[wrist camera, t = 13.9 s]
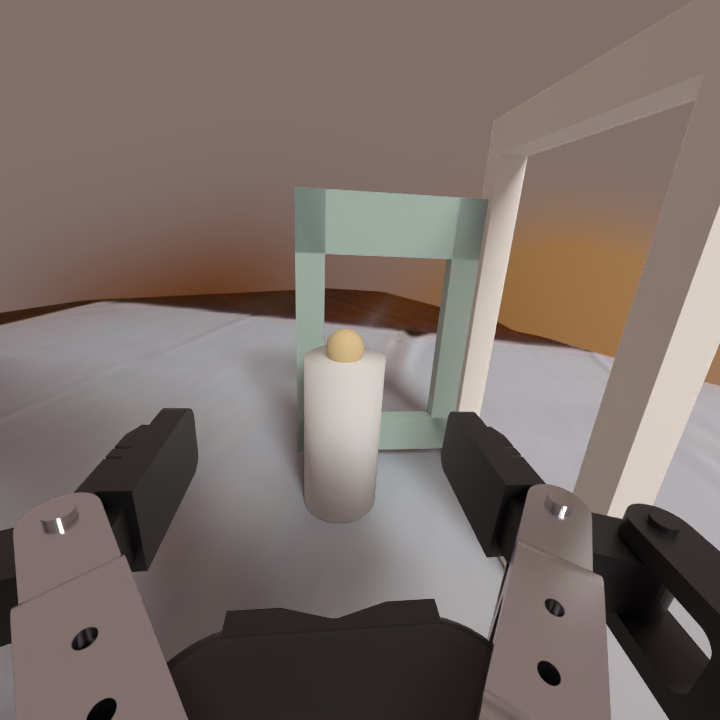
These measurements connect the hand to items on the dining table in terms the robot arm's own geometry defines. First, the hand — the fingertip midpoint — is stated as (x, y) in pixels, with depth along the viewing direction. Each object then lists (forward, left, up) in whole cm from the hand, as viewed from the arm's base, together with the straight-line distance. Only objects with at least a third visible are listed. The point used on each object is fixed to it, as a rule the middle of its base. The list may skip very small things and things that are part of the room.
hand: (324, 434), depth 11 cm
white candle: (+2, +12, -13) cm, 17 cm away
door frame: (+13, +10, -13) cm, 21 cm away
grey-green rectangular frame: (+5, +17, -11) cm, 21 cm away
